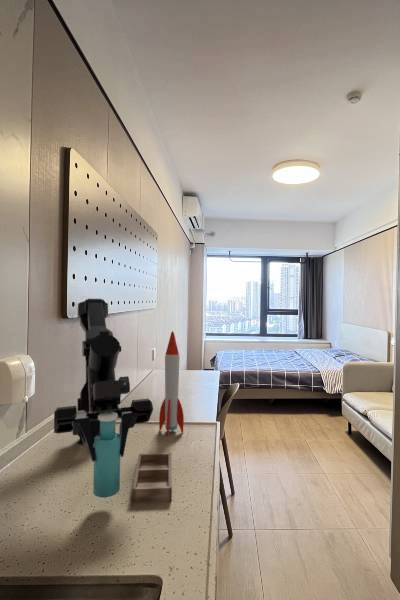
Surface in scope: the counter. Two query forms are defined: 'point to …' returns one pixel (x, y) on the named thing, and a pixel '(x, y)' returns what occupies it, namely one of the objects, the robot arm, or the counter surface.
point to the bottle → (107, 457)
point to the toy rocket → (171, 390)
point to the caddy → (153, 478)
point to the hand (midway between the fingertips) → (108, 458)
